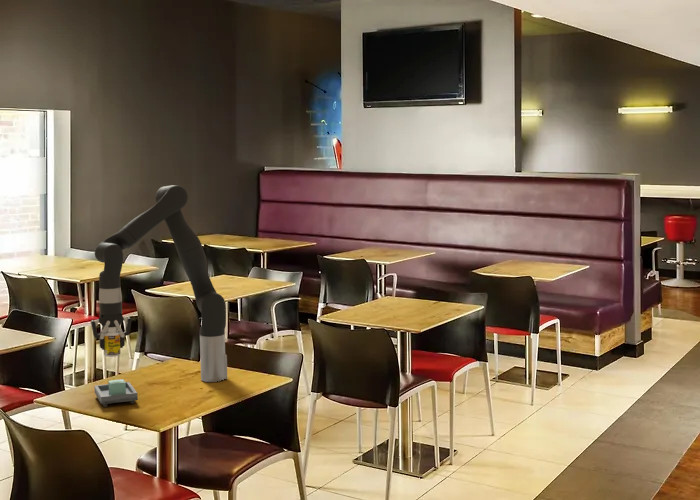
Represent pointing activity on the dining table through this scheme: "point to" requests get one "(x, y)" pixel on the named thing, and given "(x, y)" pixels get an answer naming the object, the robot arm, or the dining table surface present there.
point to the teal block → (117, 387)
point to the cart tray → (105, 398)
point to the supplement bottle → (112, 342)
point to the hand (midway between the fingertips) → (112, 348)
